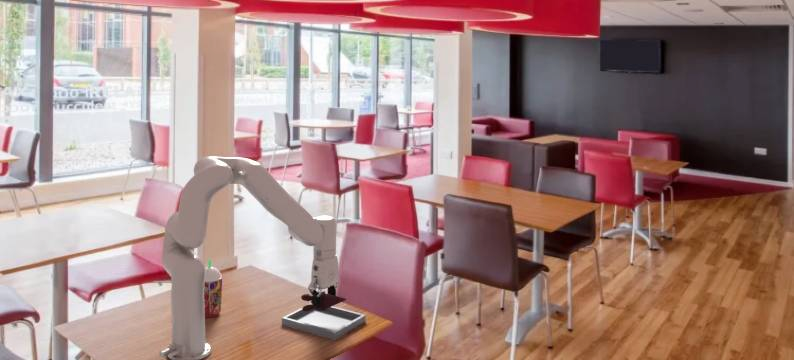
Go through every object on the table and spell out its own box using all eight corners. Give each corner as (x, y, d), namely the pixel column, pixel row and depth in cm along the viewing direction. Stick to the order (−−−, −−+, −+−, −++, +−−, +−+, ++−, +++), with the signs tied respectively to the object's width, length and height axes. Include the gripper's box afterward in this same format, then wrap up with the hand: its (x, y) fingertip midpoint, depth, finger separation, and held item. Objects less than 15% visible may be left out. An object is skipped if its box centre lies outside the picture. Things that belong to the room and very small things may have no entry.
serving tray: (334, 340, 210) (335, 332, 209) (281, 324, 221) (281, 317, 220) (365, 321, 225) (365, 314, 225) (314, 308, 236) (314, 301, 235)
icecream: (345, 287, 226) (301, 291, 225) (344, 290, 218) (299, 294, 217) (346, 307, 225) (303, 312, 225) (346, 310, 218) (301, 315, 217)
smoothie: (224, 317, 225) (223, 261, 222) (199, 320, 222) (197, 264, 219) (221, 308, 233) (220, 254, 229) (197, 311, 230) (195, 256, 226)
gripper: (317, 261, 209) (317, 313, 212) (348, 248, 224) (348, 297, 227) (299, 257, 213) (299, 308, 216) (331, 245, 227) (330, 293, 231)
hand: (324, 302), depth 221 cm, fingers closed on icecream, 7 cm apart
